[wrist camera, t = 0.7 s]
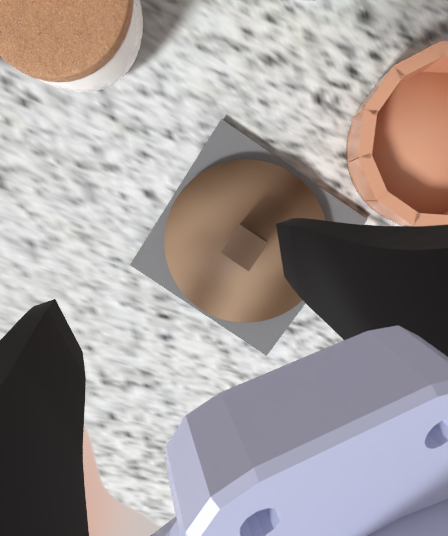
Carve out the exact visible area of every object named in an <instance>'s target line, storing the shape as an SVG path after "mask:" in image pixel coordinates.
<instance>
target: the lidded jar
mask: <svg viewBox="0 0 448 536" xmlns="http://www.w3.org/2000/svg"><path fill="white" fill-rule="evenodd" d="M142 34H143V17H142V7H141V2H140V0H0V57H2V58H3V59H4V60H5V61H6V62H7V63H9V64H10V65H12V66H13V67H15V68H16V69H18V70H19V71H21V72H23V73H25V74H27V75H29V76H32V77H34V78H36V79H38V80H40V81H42V82H44V83H47V84H49V85H51V86H54V87H57V88H60V89H64V90H68V91H76V92H91V91H96V90H100V89H103V88H106V87H108V86H110V85H112V84H114V83H115V82H117V81H118V80H120V79H121V78H122V77H123V76H124V75H125V74H126V73H127V72H128V70H129V69H130V68H131V66H132V65H133V63H134V61H135V59H136V57H137V54H138V51H139V49H140V45H141V40H142Z"/></svg>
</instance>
